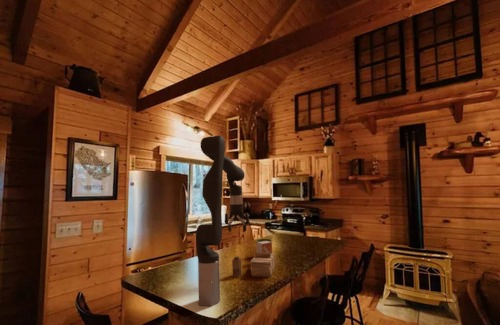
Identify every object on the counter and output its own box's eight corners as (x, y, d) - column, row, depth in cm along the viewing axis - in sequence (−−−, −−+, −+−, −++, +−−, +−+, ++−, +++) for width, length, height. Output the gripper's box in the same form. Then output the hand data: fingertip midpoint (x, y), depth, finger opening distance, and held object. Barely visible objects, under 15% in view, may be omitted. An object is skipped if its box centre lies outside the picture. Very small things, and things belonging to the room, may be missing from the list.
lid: (269, 263, 143) (269, 257, 143) (250, 263, 145) (250, 256, 146) (274, 255, 160) (274, 249, 161) (256, 254, 163) (256, 249, 163)
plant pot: (253, 255, 189) (252, 239, 190) (267, 253, 194) (266, 238, 195) (260, 259, 178) (260, 242, 179) (275, 256, 183) (274, 240, 184)
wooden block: (239, 277, 144) (239, 258, 145) (232, 276, 145) (232, 258, 146) (241, 274, 148) (240, 256, 149) (234, 274, 149) (234, 256, 150)
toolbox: (270, 277, 142) (270, 264, 143) (251, 276, 144) (250, 263, 145) (274, 267, 159) (274, 255, 160) (257, 266, 162) (256, 255, 163)
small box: (262, 264, 166) (261, 243, 167) (257, 262, 171) (256, 242, 173) (272, 262, 171) (271, 241, 172) (266, 260, 176) (266, 240, 177)
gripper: (222, 204, 149) (223, 232, 148) (246, 203, 145) (247, 233, 144) (227, 203, 157) (228, 230, 155) (249, 202, 153) (250, 230, 151)
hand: (237, 231), depth 149 cm, fingers open, 8 cm apart
